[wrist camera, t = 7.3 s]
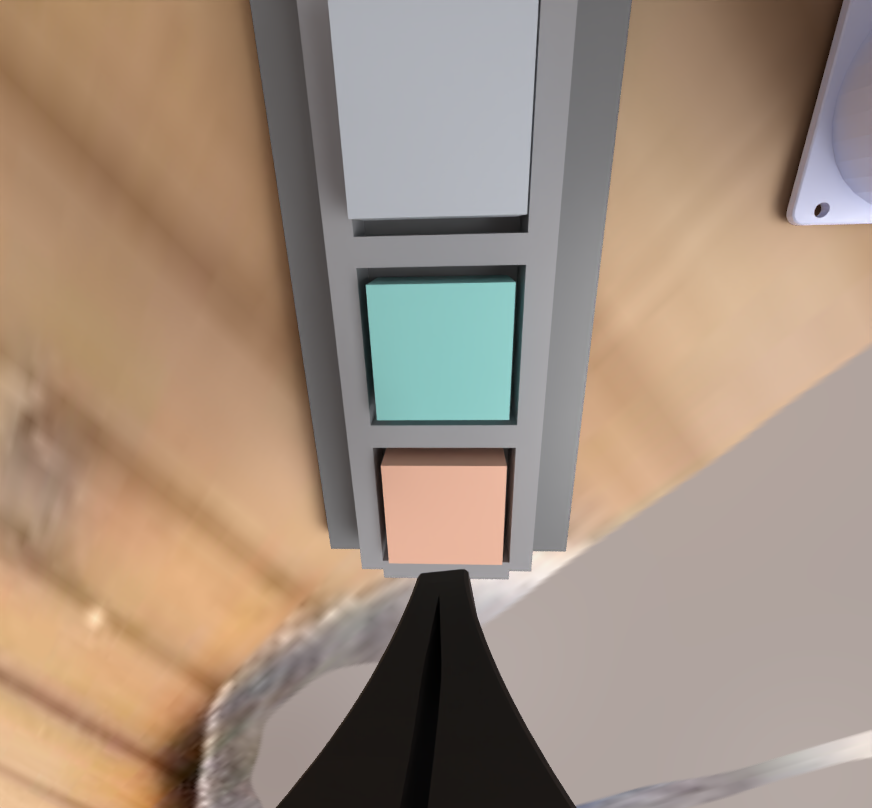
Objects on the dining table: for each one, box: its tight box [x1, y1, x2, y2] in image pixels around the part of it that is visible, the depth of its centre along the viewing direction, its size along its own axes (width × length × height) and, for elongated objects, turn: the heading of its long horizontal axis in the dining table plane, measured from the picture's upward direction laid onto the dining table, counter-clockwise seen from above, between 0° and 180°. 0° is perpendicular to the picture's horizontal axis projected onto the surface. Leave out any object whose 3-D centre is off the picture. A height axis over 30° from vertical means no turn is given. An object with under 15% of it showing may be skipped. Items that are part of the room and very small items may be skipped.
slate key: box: [328, 0, 539, 220], centre depth 12 cm, size 5×5×2 cm
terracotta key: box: [381, 448, 507, 565], centre depth 19 cm, size 5×5×2 cm
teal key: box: [366, 275, 516, 420], centre depth 16 cm, size 5×5×2 cm
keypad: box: [250, 0, 632, 579], centre depth 16 cm, size 12×29×3 cm, turn 1°
